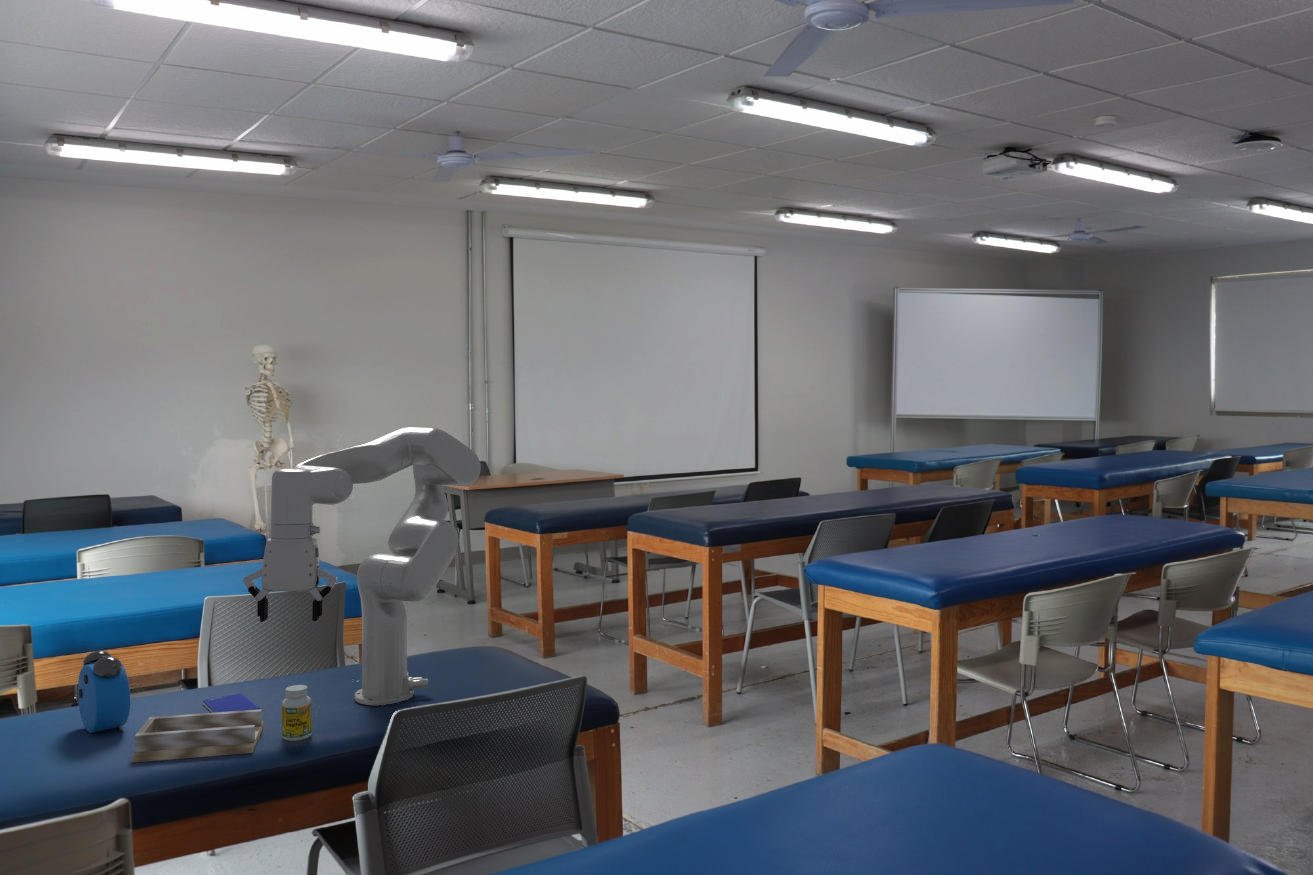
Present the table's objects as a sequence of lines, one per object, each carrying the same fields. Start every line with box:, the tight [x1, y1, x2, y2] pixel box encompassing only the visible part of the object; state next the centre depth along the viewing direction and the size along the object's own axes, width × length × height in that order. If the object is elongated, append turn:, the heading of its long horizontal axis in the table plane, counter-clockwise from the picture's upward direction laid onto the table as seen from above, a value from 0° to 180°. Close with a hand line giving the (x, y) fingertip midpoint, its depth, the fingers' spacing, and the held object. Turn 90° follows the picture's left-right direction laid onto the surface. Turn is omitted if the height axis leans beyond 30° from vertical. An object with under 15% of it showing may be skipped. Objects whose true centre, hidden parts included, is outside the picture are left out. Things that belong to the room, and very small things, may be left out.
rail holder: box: [131, 708, 264, 763], centre depth 177 cm, size 20×14×4 cm
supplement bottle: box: [281, 684, 313, 742], centre depth 181 cm, size 5×5×10 cm
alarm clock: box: [77, 649, 131, 734], centre depth 184 cm, size 13×6×15 cm, turn 45°
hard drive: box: [202, 692, 261, 713], centre depth 198 cm, size 2×8×12 cm
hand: (289, 620), depth 182 cm, fingers open, 9 cm apart
